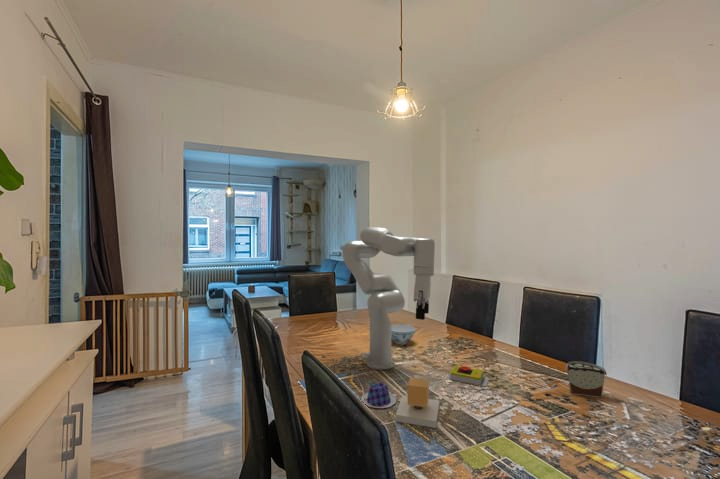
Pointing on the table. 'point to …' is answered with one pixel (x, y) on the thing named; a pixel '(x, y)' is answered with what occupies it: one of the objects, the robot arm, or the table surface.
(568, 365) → the food container
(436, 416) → the board
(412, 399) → the tan wooden cube
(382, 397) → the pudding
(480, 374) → the emergency button
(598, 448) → the table surface
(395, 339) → the chinaware
